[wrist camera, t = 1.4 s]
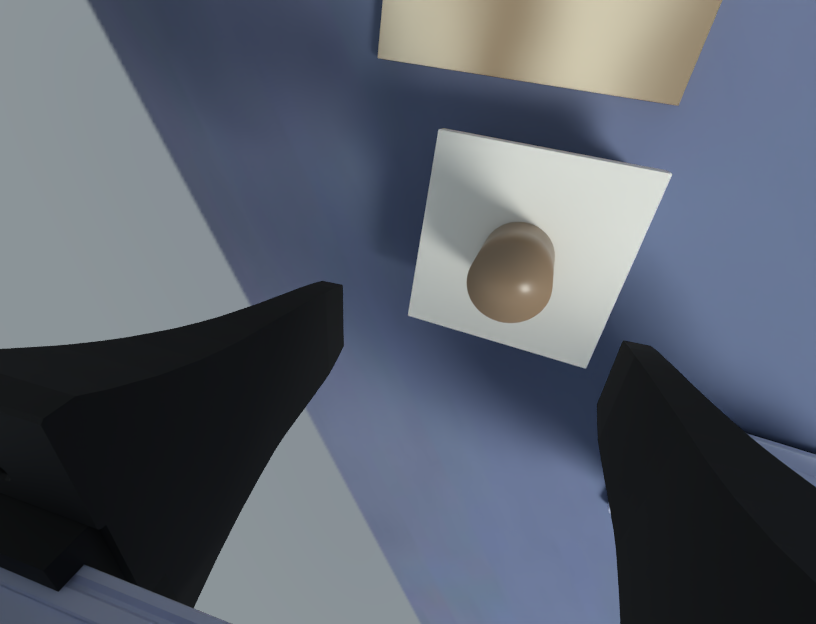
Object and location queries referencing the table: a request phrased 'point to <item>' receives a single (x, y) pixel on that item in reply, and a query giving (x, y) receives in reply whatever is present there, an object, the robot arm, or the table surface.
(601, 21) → the birch board
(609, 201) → the lid
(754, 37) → the table surface
